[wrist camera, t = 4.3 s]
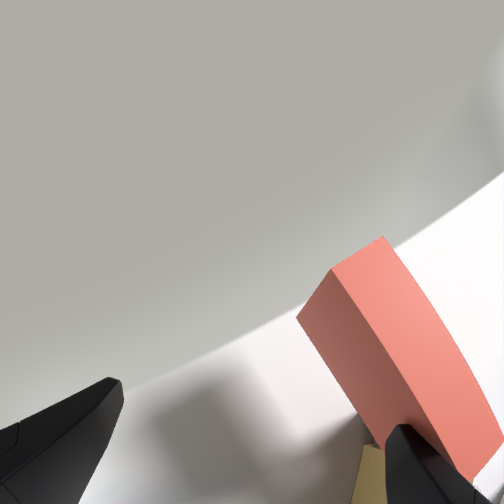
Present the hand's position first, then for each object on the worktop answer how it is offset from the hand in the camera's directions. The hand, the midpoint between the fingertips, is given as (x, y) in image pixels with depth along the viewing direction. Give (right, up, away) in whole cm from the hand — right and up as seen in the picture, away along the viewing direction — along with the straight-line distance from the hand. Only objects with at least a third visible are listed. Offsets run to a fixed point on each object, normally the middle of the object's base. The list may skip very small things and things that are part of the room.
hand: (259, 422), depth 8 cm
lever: (+6, -3, +3) cm, 7 cm away
